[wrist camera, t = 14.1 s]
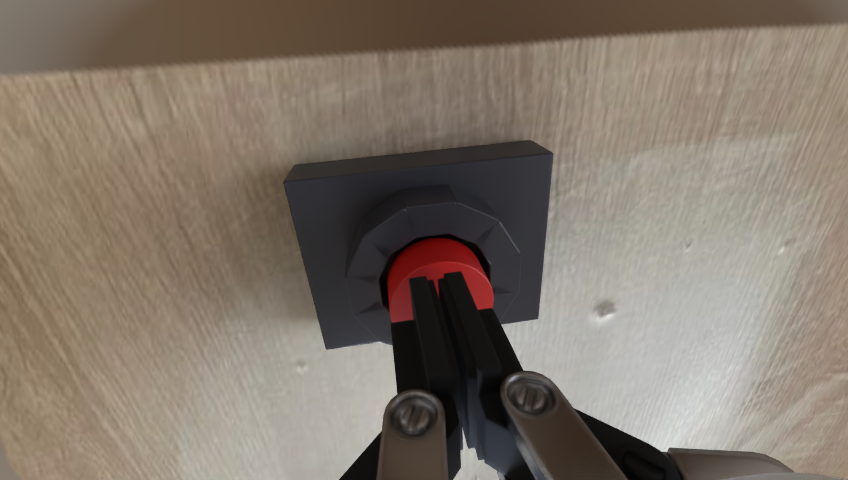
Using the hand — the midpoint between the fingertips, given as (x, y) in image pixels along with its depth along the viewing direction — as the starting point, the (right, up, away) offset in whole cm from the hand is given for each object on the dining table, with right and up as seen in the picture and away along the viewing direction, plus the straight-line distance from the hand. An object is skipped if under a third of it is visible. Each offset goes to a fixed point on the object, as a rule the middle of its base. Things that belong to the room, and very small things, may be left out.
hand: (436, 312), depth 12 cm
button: (0, +1, +2) cm, 2 cm away
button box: (0, +2, +5) cm, 6 cm away
